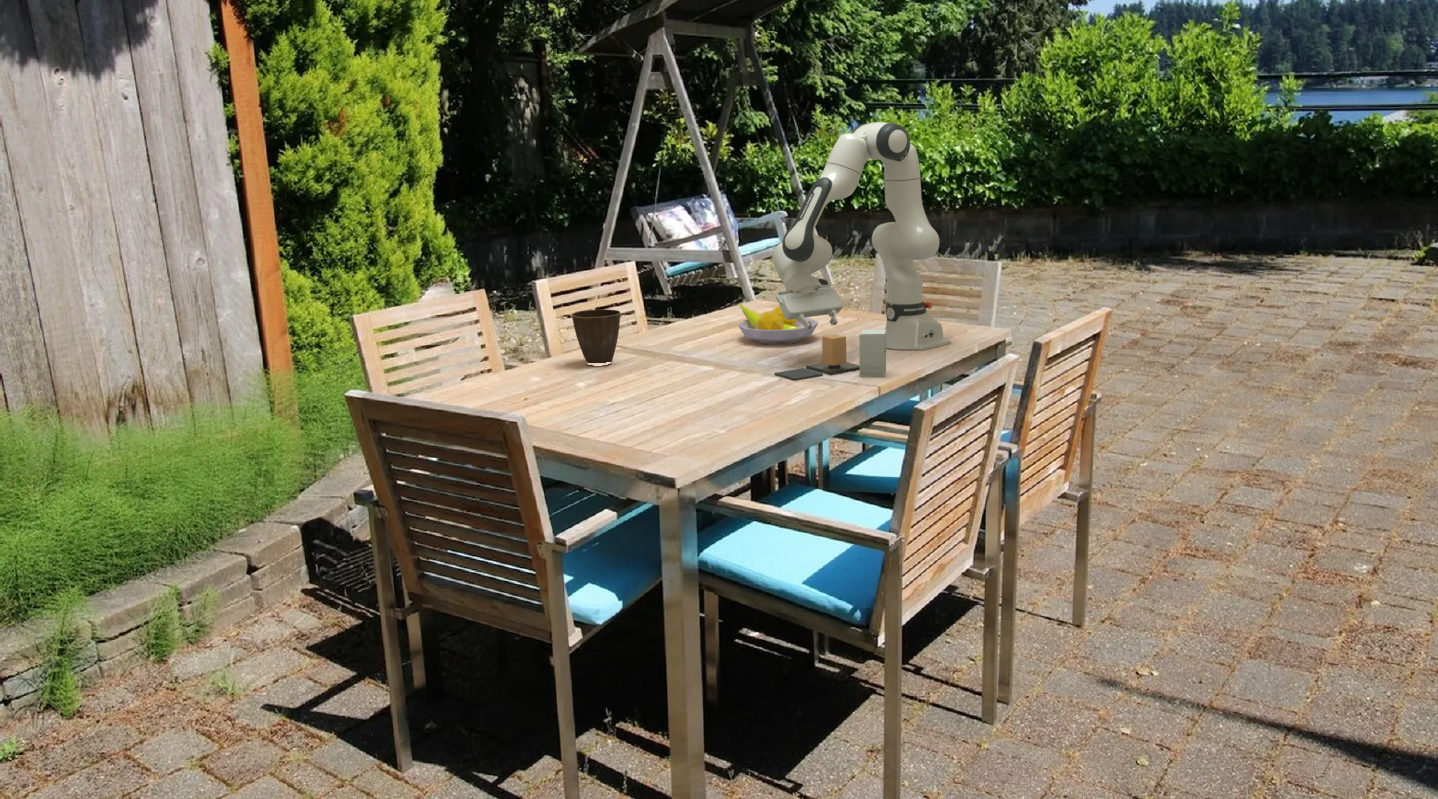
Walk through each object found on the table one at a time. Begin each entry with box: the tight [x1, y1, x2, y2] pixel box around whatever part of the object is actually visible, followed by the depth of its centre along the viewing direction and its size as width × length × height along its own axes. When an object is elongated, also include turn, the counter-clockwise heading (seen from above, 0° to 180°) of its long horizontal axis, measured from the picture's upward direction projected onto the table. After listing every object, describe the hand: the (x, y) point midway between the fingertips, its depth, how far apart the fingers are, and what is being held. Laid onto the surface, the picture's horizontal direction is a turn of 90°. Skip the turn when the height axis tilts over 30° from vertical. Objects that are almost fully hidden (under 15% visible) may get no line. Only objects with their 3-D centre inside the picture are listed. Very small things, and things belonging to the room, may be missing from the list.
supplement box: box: [859, 329, 887, 378], centre depth 346 cm, size 7×7×13 cm
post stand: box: [805, 361, 860, 376], centre depth 355 cm, size 12×12×9 cm
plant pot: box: [571, 309, 621, 363], centre depth 372 cm, size 15×15×16 cm
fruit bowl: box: [737, 303, 820, 345], centre depth 402 cm, size 28×27×11 cm
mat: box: [774, 367, 824, 382], centre depth 349 cm, size 10×10×1 cm
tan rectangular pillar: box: [821, 333, 847, 366], centre depth 354 cm, size 5×5×8 cm
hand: (822, 325), depth 357 cm, fingers open, 8 cm apart
